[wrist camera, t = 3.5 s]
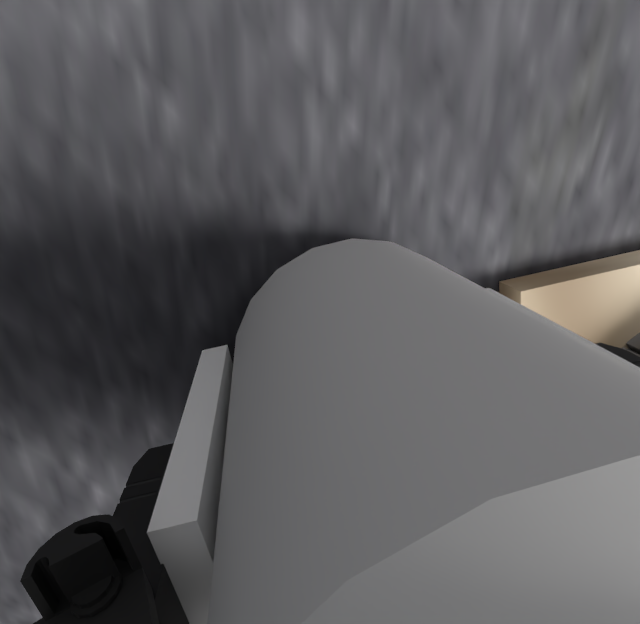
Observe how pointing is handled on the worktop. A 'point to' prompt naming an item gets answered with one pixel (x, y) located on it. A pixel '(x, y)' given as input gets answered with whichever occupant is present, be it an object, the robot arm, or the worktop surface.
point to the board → (587, 298)
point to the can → (421, 455)
